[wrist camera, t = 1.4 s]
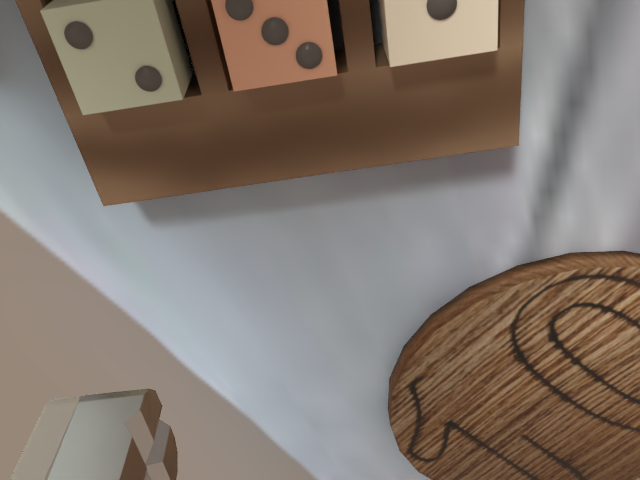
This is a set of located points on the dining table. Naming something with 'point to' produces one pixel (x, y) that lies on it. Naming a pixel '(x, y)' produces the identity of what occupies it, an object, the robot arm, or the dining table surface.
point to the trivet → (527, 376)
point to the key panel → (293, 112)
